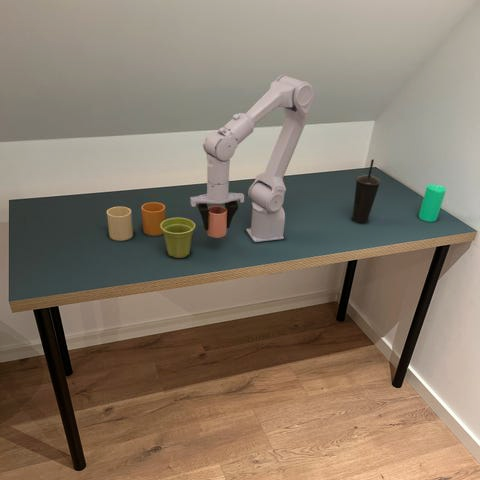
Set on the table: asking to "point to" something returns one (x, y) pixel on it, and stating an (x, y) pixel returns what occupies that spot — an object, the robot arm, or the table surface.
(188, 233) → the plant pot
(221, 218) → the rose cup
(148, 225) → the ochre cup
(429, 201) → the candle
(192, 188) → the table surface
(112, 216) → the cream cup
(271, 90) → the robot arm
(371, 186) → the drinking cup
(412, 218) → the table surface
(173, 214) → the table surface
